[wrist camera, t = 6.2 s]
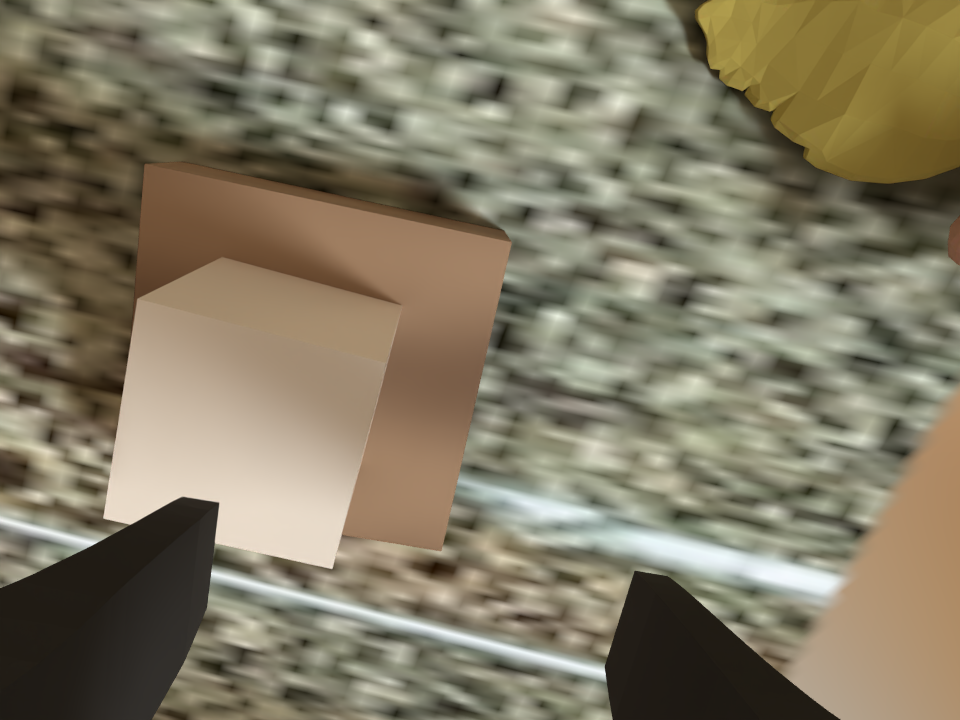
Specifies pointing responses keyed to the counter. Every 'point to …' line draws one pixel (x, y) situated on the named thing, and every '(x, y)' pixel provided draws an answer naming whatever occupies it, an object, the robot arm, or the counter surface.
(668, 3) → the counter surface
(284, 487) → the ceramic cube
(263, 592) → the counter surface
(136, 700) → the robot arm
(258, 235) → the walnut block
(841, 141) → the figurine
